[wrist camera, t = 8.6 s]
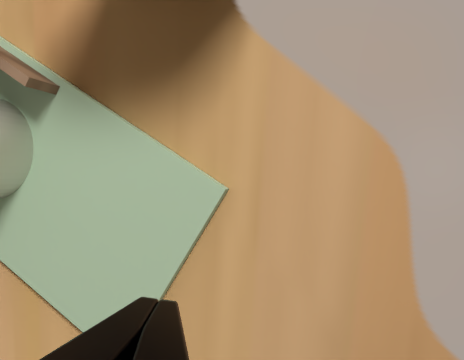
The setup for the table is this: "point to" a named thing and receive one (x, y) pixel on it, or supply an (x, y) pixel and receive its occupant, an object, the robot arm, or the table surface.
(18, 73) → the cup pocket
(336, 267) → the table surface
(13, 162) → the white rounded block
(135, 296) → the green mat
